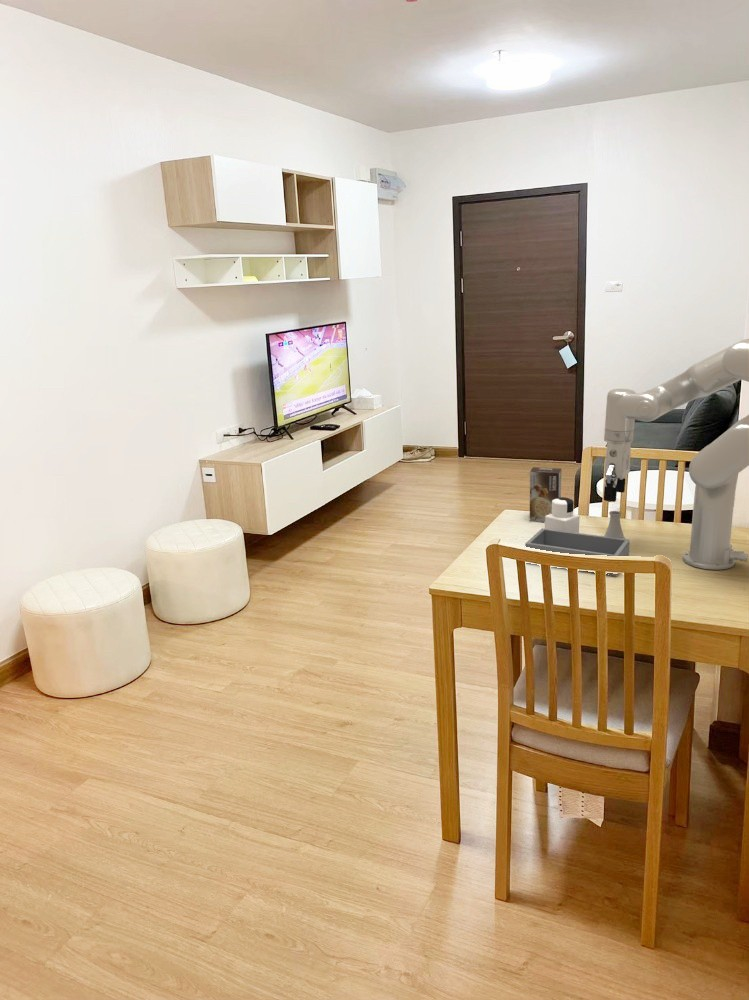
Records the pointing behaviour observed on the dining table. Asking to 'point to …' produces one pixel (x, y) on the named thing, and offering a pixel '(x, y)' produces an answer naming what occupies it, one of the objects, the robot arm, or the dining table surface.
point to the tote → (579, 544)
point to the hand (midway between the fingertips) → (614, 496)
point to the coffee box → (543, 491)
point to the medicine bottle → (562, 516)
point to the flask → (614, 526)
